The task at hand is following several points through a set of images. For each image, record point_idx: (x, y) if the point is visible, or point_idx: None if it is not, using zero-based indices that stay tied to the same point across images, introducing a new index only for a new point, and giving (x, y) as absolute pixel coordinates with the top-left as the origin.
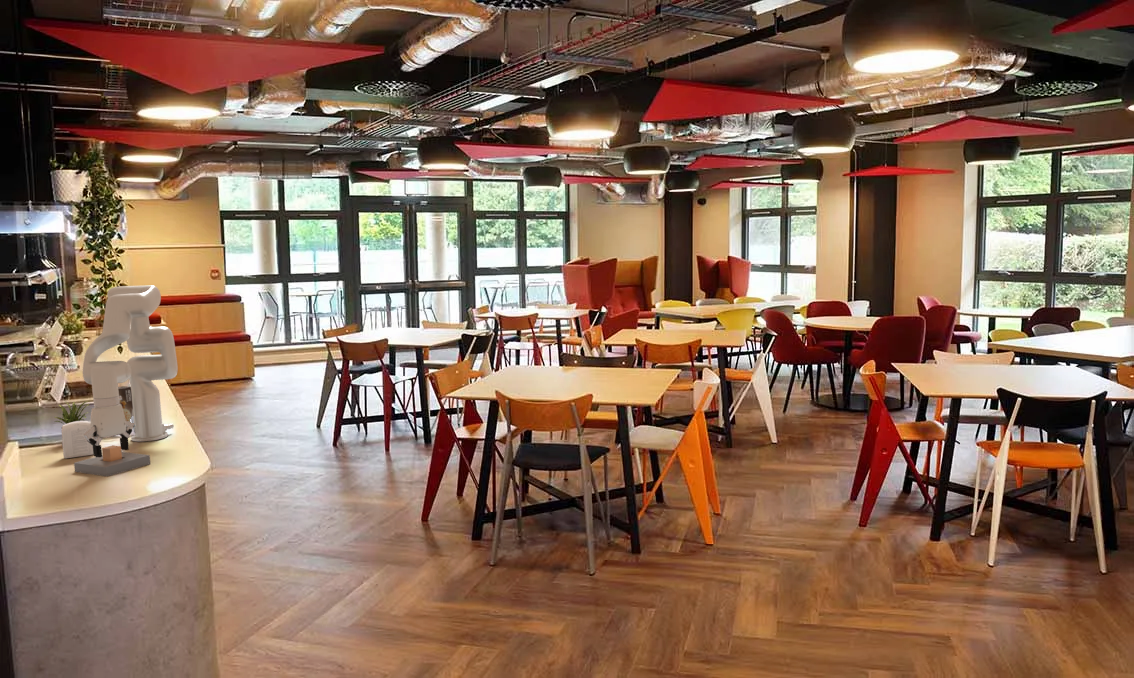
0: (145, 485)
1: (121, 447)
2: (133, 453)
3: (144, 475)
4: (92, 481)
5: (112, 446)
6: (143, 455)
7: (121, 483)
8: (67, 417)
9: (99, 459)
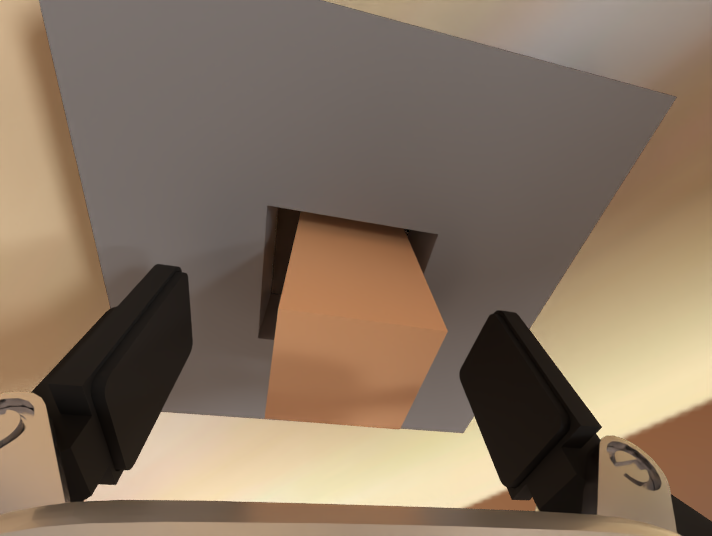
0: None
1: (496, 336)
2: (527, 321)
3: (256, 470)
4: (50, 359)
5: (384, 365)
6: (458, 410)
7: (123, 473)
8: None
9: (295, 183)
